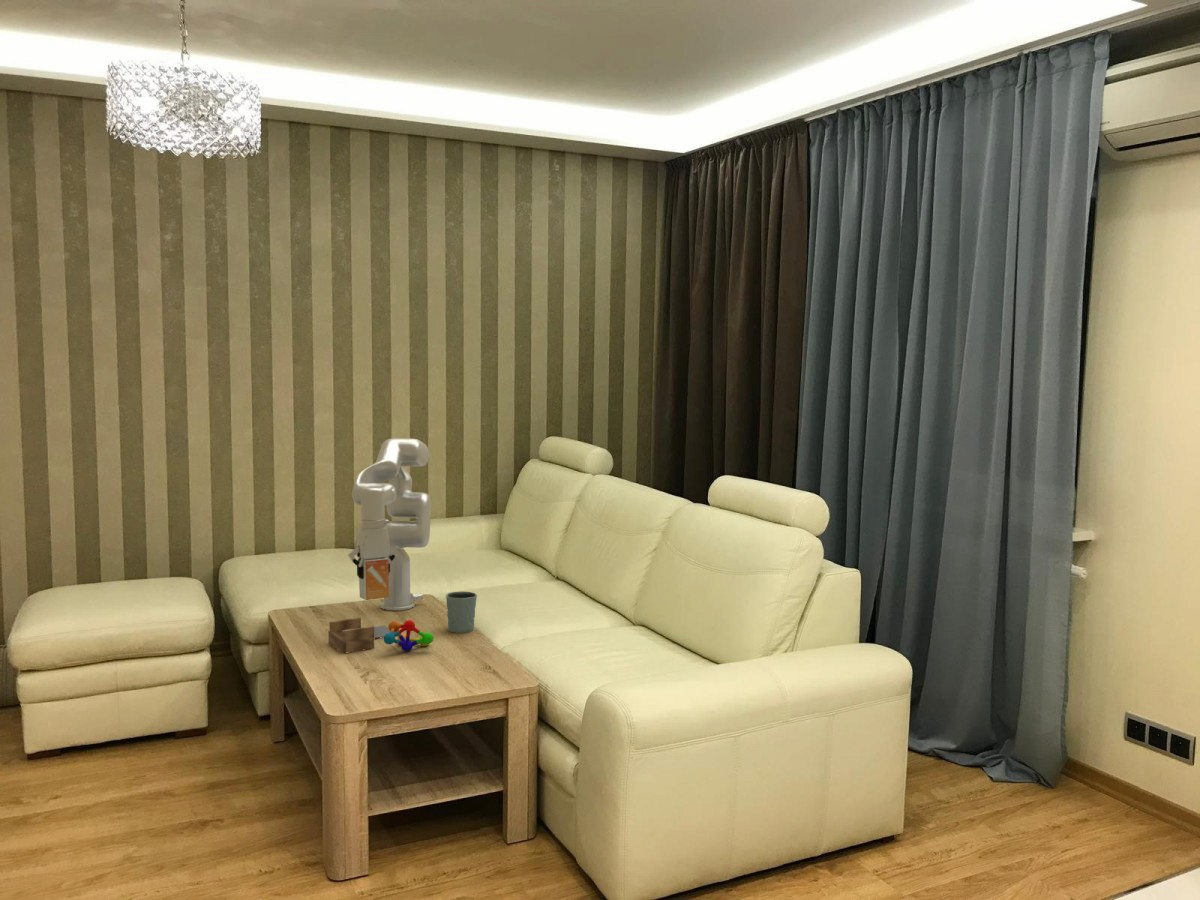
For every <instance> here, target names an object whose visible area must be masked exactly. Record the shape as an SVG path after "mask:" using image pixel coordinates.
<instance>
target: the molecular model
mask: <svg viewBox="0 0 1200 900" xmlns="http://www.w3.org/2000/svg"><path fill="white" fill-rule="evenodd" d="M387 627H388V628H389V630H390V633H387V634H385V636H384V638H383V642H384V643H385V644H387V645H392V644H396V645H399V646H400V647H401V650H402V651H403V652H406V651H408V652H411V650H412V649H413V647H415V646H418V645H420V646H422V647H427V646H429V645H430V644H432V643H433V641H434V635H433V634H432V633H431V632H425V633H424V632H423V631H421V630H420V629H418V628H417V627H416V624H415V622H414V621H413V620H411V619H408V620H406V621H404V623H403V624H400V623H399V622H398V621H394V620H393V621H391V622H389V623H388V626H387ZM405 631H406V632H405ZM412 631H413V632H414V633H415V634H417V635H419V638H417V637H416V638H413V637H411V632H412ZM394 632H395V633H394ZM404 632H405V633H404ZM396 638H397V639H396Z"/></svg>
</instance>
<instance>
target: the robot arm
mask: <svg viewBox="0 0 1200 900" xmlns="http://www.w3.org/2000/svg"><path fill="white" fill-rule="evenodd" d="M429 451H430V450H429V448H428V446H427V444H425V443H424V442H423V441H421V440H419V439H416V438H403V437H402V438H401V437H400V438H397V437H395V438H393V437H392V438H389V439H386V440H384V441H383V442H382V444H381V445H380V449H379V452H378V454H377V458H376V461H375V463H373V464H371V465H369V466H368V467H366V468H364V469H363V470H362V471H360V472H359V473H358V475H357V476H356V478H355V482H354V483H353V487H352V489H351V490H352V491H351V498H352V501H353V503H354V504H355V505H358V506H360V510H361V511H360V513H361V514H360V516H361V517H360V519H361V525H360V526H361V527H360V528H358V532H357V539H356V548H354V549H353V550H352V551H351V552H349V553H348V558H349V559H350V561H351V562H352V563H353V564H354V565H355V566H356V576H357V577H358V579H359V578H361V579H363V578H364V567H362V565H363V563H364V561H365V560H368V559H378V558H387V559H388V572H389V598H383V601H381V602H380V603H379V608H380V609H381V608H382V610H384V609H386V610H385V611H404V610H405V611H406V610H410V609H412V607H413V608H414V607H416V606H415V605H416V604H415V601H416V600H423V599H424V596H423V593H418V594H417V593H412V592H411V559H410V556H409V554H408V552H407V551H406V550H405V549H404V548H425V547H427V546H428V544H429V541H430V535H431V518H432V500H431V497H430V495H429V494H428V493H426V492H422V491H421V492H420V491H418V492H417V491H416V492H415V491H414V492H413V490H412V489H413V478H412V477H411V475H410V474H409V472H408V471H407V469H405V467H415V468H417V467H421V468H422V467H424V466H426V465H427V464H428V462H429V458H430V452H429ZM386 482H387V483H386ZM385 507H386V509H385ZM385 512H387V514H388V516H389V517H392V518H395V519H416V520H417V521H415V520H414V521H413V520H409V521H408V520H389V519H386V513H385ZM355 556H356V557H357V559H356V557H355Z"/></svg>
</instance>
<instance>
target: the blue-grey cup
mask: <svg viewBox="0 0 1200 900" xmlns="http://www.w3.org/2000/svg"><path fill="white" fill-rule="evenodd" d="M445 597H446V607H447V608H446V609H447V628H448V629H447V630H448V631H449V632H450V631H451V632H450V633H454V632H456V633H455V634H464V632H467V633H470V632H472V631H474V628H475V618H476V617H475V616H476V615H475V614H476V605H477V597H478V595H477V593H475V592H473V591H472V592H471V591H451V592H448V593H446V595H445Z"/></svg>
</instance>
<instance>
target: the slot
mask: <svg viewBox="0 0 1200 900" xmlns="http://www.w3.org/2000/svg"><path fill="white" fill-rule="evenodd" d="M374 627H375V626H373V625H370V626H365V627H364V626H362V618H361V617H354V618H348V619H339V620H334V621H329V631H328V632H327V633H328V645H330V644H331V645H330V646H332V647H333V646H334V647H335V648H334V647H333V648H334V649H336V650H337V649H338V650H339V651H338V650H337V651H338V652H339V653H341V654H342V653H343V654H347V653H346V652H349V653H353V652H352V651H355V652H359V651H358V650H362V651H364V650H363V649H368V650H370V649H369V648H374V649H375V639H374Z"/></svg>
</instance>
